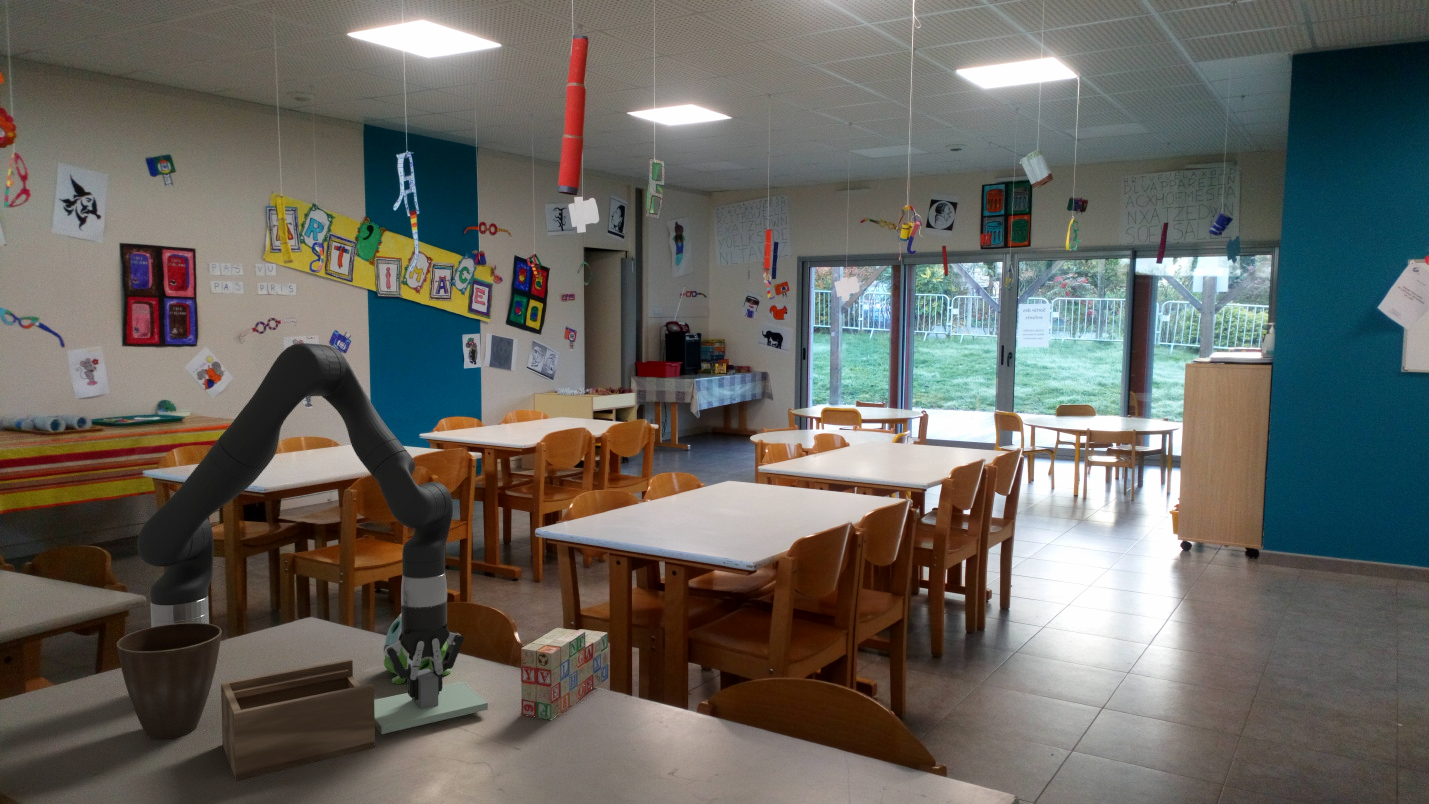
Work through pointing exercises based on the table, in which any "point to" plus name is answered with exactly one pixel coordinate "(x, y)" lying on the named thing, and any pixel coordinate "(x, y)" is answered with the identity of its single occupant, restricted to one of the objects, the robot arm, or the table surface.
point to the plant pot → (169, 675)
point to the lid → (426, 704)
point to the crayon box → (295, 718)
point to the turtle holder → (394, 637)
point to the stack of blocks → (561, 670)
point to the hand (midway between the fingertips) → (424, 695)
